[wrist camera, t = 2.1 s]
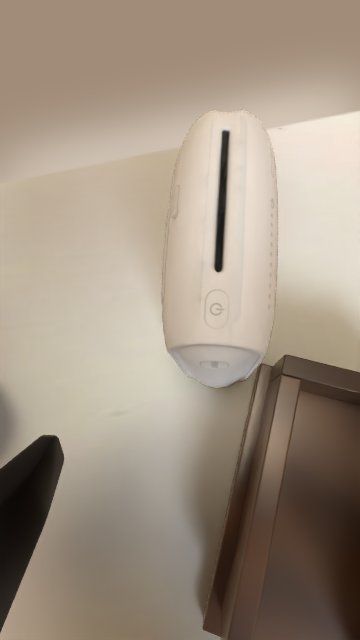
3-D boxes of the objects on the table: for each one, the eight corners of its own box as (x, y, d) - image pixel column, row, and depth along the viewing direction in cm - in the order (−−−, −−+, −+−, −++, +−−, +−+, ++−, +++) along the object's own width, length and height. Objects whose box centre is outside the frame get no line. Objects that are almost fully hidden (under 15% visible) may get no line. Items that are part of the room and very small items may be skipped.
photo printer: (250, 392, 21) (292, 358, 9) (181, 387, 22) (138, 349, 10) (254, 243, 24) (290, 71, 12) (193, 242, 24) (170, 76, 12)
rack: (382, 690, 16) (449, 802, 12) (203, 619, 18) (197, 691, 13) (412, 404, 20) (473, 400, 15) (258, 365, 21) (270, 350, 17)
